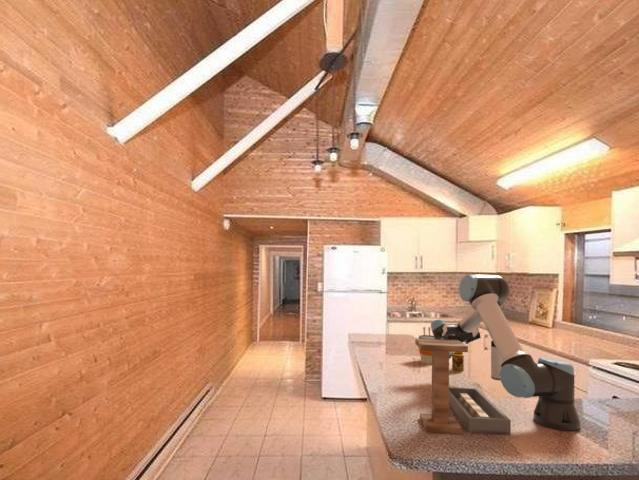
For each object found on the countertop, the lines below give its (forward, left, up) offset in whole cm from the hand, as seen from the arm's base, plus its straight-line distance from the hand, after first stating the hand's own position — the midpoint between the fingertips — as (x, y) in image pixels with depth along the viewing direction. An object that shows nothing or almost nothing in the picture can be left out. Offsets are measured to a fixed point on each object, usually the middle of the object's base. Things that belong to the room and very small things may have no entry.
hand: (461, 328), depth 171 cm
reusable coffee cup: (+48, -48, -31) cm, 75 cm away
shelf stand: (-9, +31, -31) cm, 45 cm away
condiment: (+28, -45, -31) cm, 62 cm away
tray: (-11, +11, -31) cm, 35 cm away
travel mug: (+6, -47, -31) cm, 57 cm away
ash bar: (-11, +10, -30) cm, 34 cm away
